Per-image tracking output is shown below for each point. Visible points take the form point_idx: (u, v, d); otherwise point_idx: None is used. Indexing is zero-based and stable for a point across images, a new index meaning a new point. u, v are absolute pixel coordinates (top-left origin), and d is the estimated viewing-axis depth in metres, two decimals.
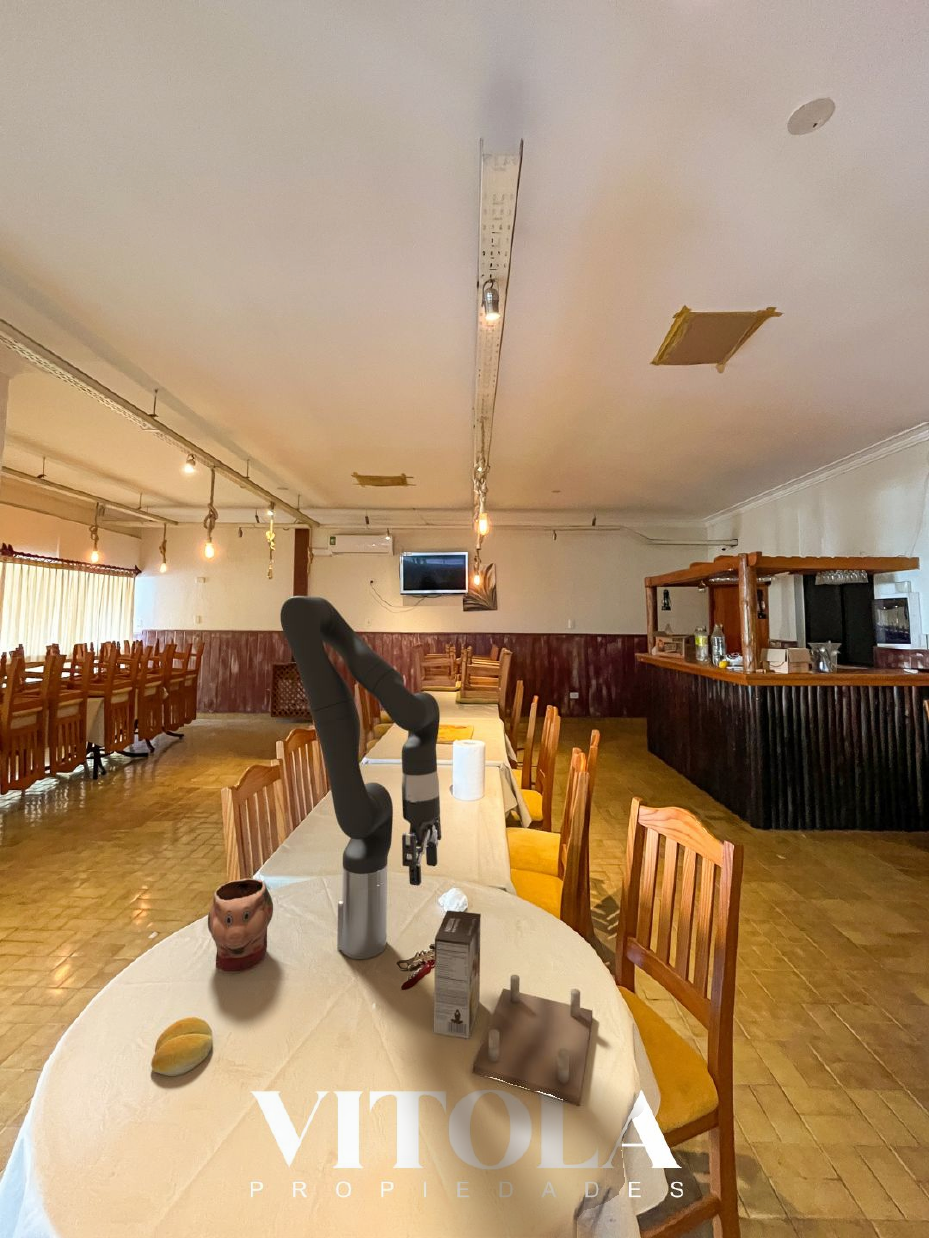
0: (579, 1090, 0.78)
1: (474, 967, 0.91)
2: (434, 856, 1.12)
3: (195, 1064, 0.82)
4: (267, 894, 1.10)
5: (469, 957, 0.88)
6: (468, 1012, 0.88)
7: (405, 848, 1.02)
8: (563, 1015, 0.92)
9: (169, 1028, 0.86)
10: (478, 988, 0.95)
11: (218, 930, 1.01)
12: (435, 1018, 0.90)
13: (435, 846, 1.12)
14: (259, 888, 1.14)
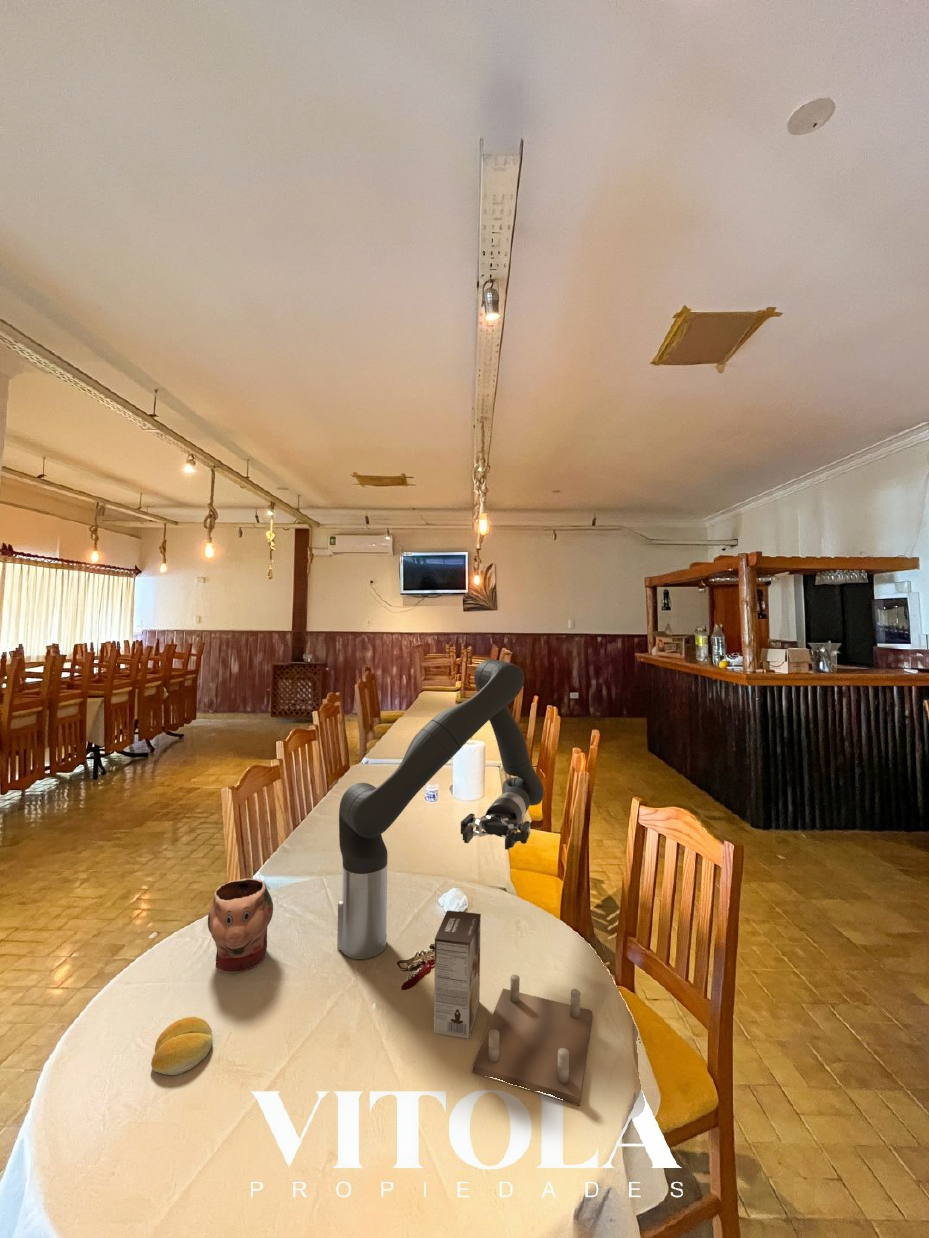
0: (579, 1090, 0.78)
1: (474, 967, 0.91)
2: (470, 838, 1.11)
3: (195, 1063, 0.82)
4: (267, 894, 1.10)
5: (469, 957, 0.88)
6: (468, 1012, 0.88)
7: (528, 829, 1.13)
8: (563, 1015, 0.92)
9: (169, 1027, 0.86)
10: (478, 988, 0.95)
11: (218, 930, 1.01)
12: (435, 1018, 0.90)
13: None
14: (259, 888, 1.14)
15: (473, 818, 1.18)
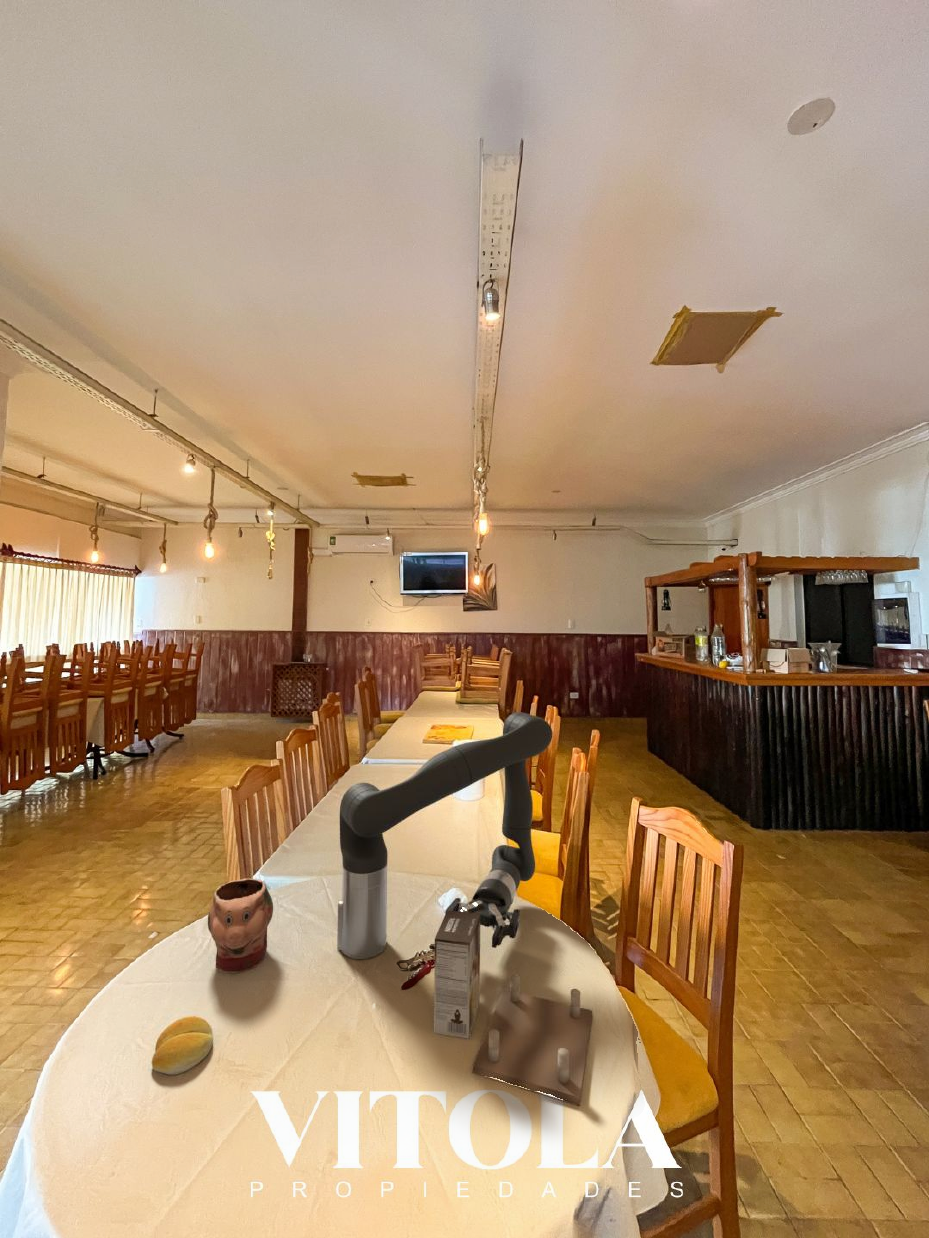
0: (579, 1090, 0.78)
1: (474, 967, 0.91)
2: None
3: (195, 1063, 0.82)
4: (267, 894, 1.10)
5: (469, 957, 0.88)
6: (468, 1012, 0.88)
7: (518, 919, 1.05)
8: (563, 1015, 0.92)
9: (169, 1027, 0.86)
10: (478, 988, 0.95)
11: (218, 930, 1.01)
12: (435, 1018, 0.90)
13: None
14: (259, 888, 1.14)
15: (459, 904, 1.10)
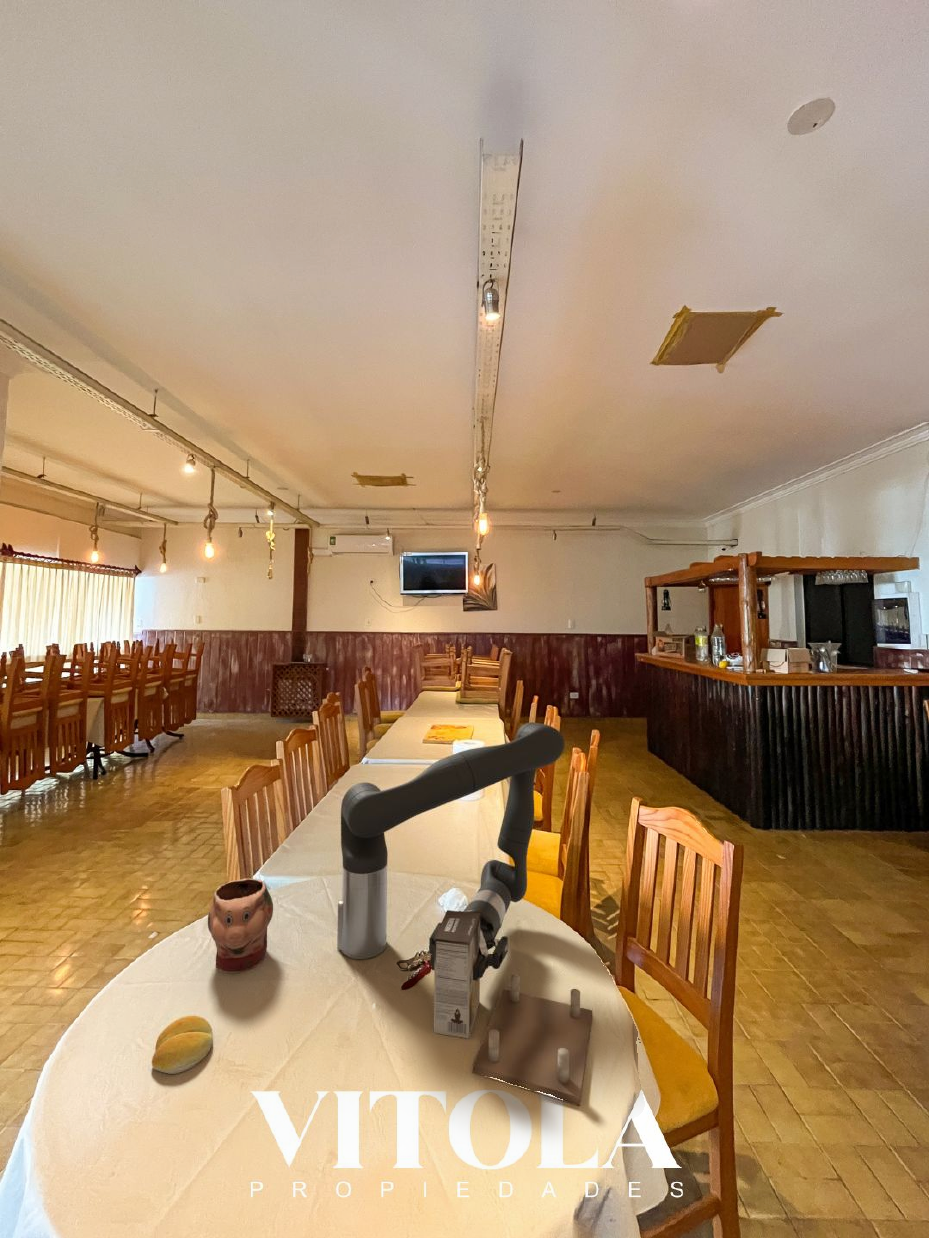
0: (579, 1090, 0.78)
1: None
2: None
3: (195, 1062, 0.82)
4: (267, 894, 1.10)
5: (469, 957, 0.88)
6: (468, 1012, 0.88)
7: (504, 948, 0.96)
8: (563, 1015, 0.92)
9: (169, 1026, 0.86)
10: (478, 988, 0.95)
11: (218, 930, 1.01)
12: (435, 1018, 0.90)
13: None
14: (259, 888, 1.14)
15: None
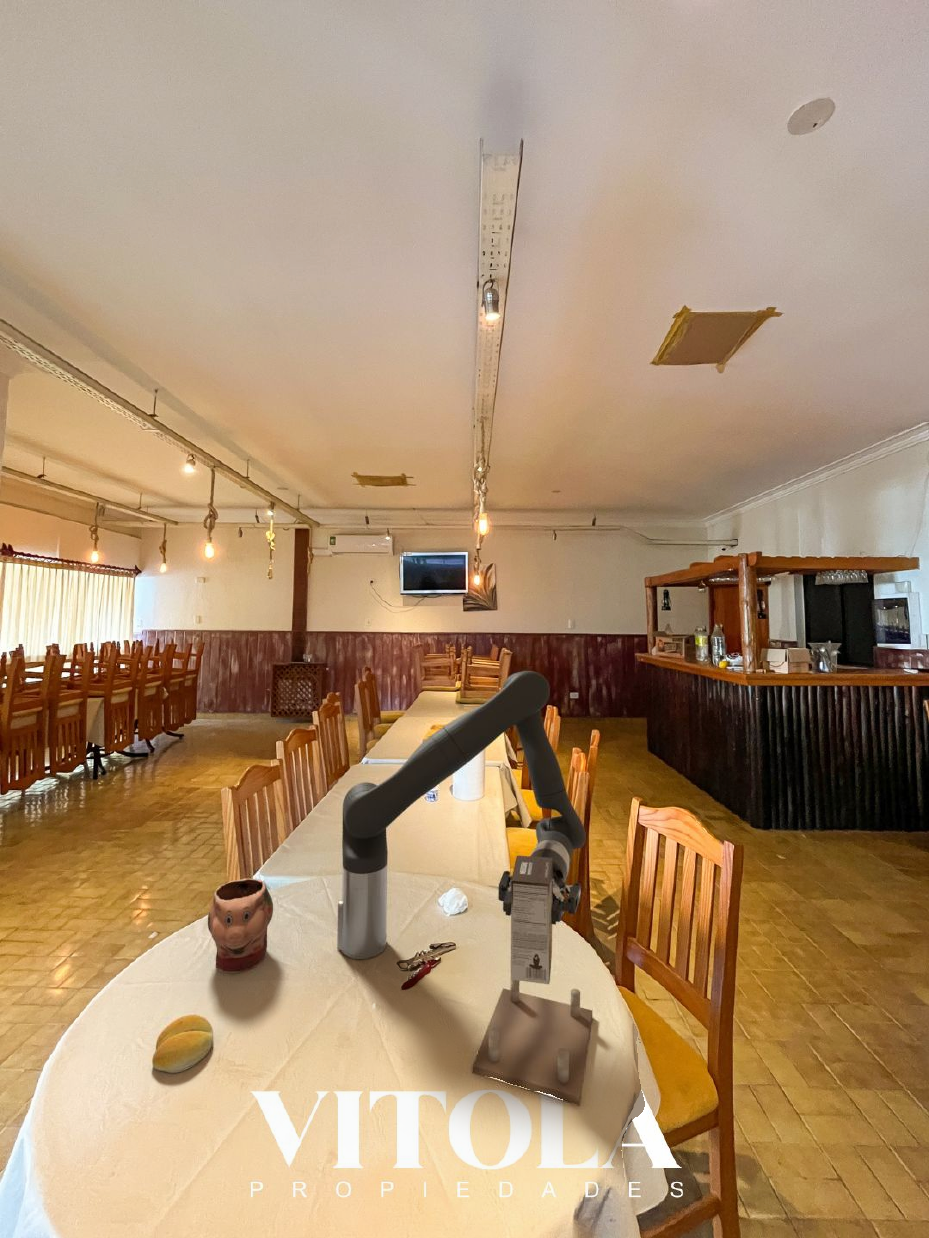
0: (579, 1090, 0.78)
1: None
2: None
3: (196, 1061, 0.83)
4: (267, 894, 1.10)
5: (548, 899, 0.84)
6: (548, 957, 0.84)
7: (578, 893, 0.92)
8: (563, 1015, 0.92)
9: (170, 1025, 0.86)
10: None
11: (218, 930, 1.01)
12: (512, 964, 0.85)
13: None
14: (259, 888, 1.14)
15: (510, 878, 0.96)
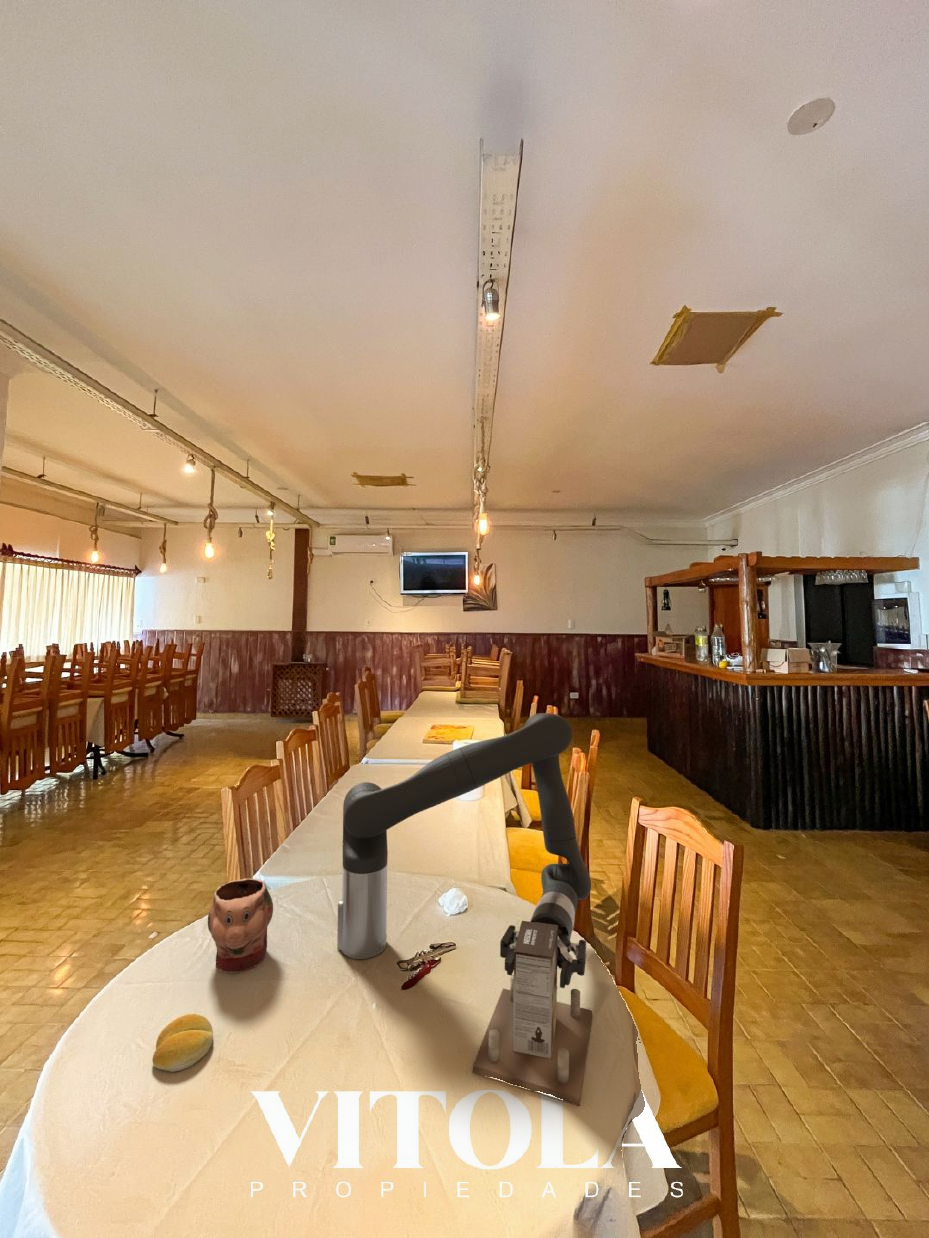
0: (579, 1090, 0.78)
1: (555, 982, 0.86)
2: None
3: (196, 1060, 0.83)
4: (267, 894, 1.10)
5: (551, 972, 0.83)
6: (550, 1030, 0.83)
7: (585, 952, 0.91)
8: (563, 1015, 0.92)
9: (170, 1024, 0.86)
10: (556, 1004, 0.90)
11: (218, 930, 1.01)
12: (514, 1035, 0.84)
13: None
14: (259, 888, 1.14)
15: (514, 933, 0.96)
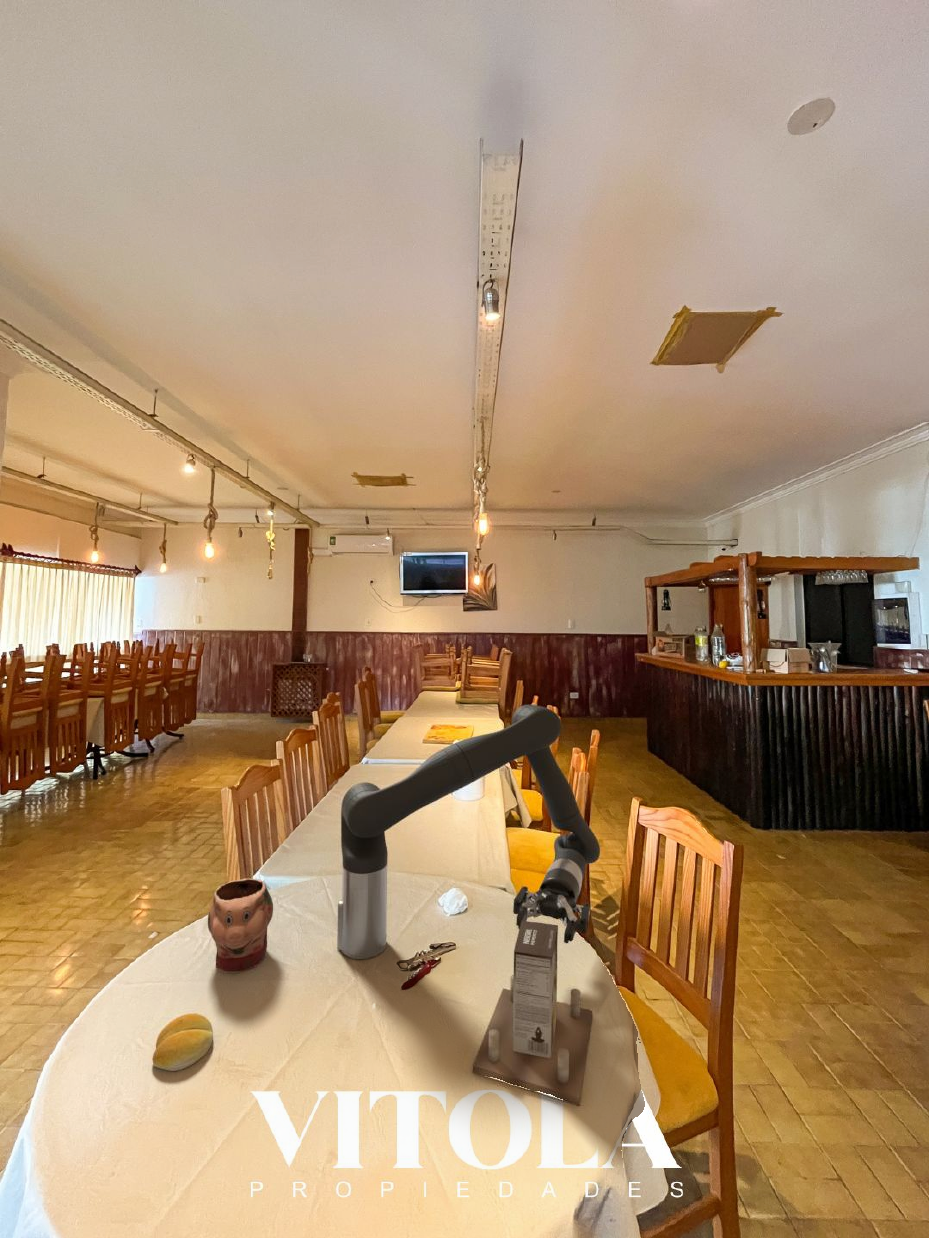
0: (579, 1090, 0.78)
1: (555, 982, 0.86)
2: None
3: (196, 1059, 0.83)
4: (267, 894, 1.10)
5: (551, 972, 0.83)
6: (550, 1030, 0.83)
7: None
8: (563, 1015, 0.92)
9: (170, 1024, 0.86)
10: None
11: (219, 930, 1.01)
12: (514, 1036, 0.84)
13: None
14: (259, 888, 1.14)
15: (527, 893, 1.08)
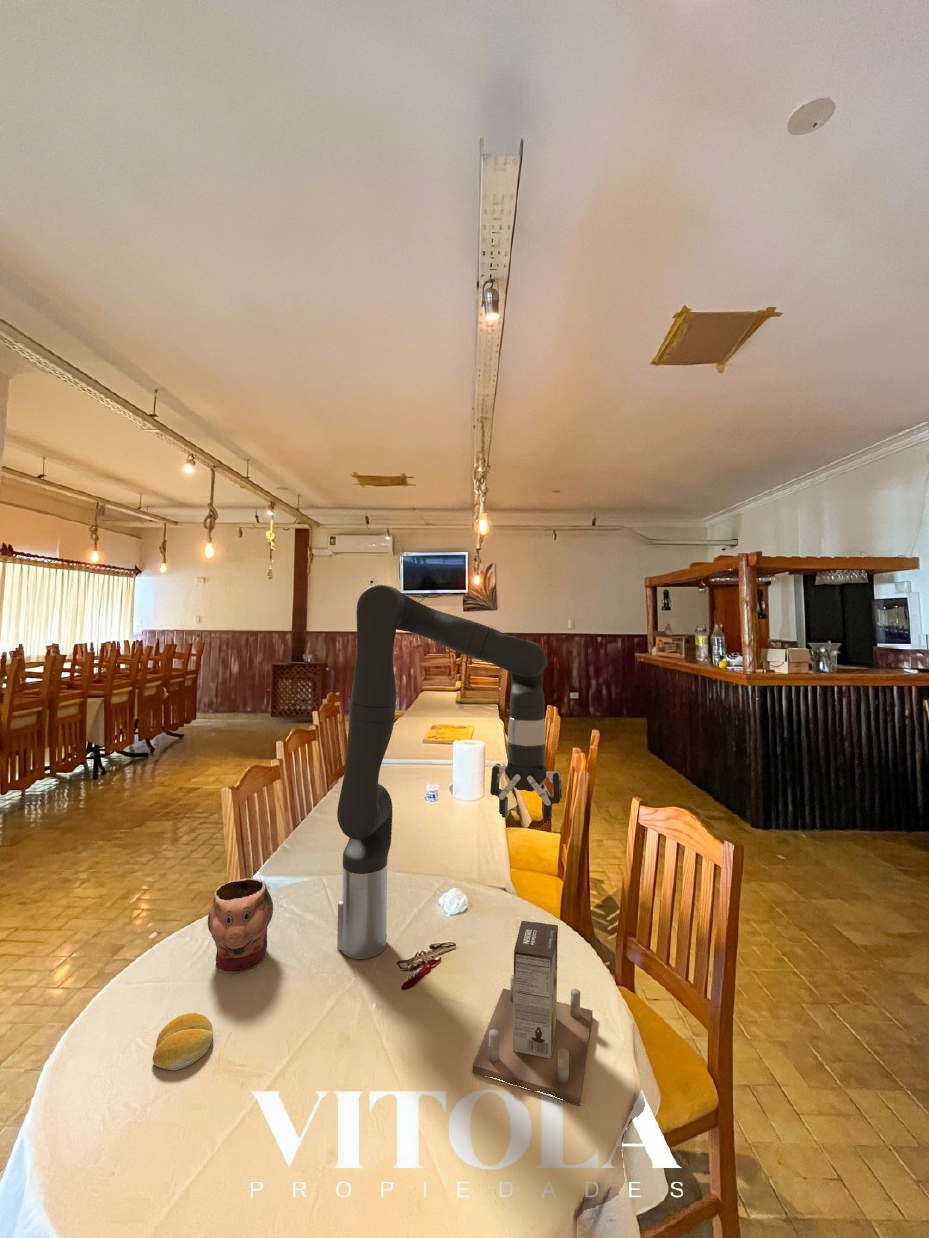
0: (579, 1090, 0.78)
1: None
2: (507, 805, 1.12)
3: (196, 1058, 0.83)
4: (267, 894, 1.10)
5: (551, 972, 0.83)
6: (550, 1030, 0.83)
7: (559, 785, 1.07)
8: (563, 1015, 0.92)
9: (170, 1023, 0.87)
10: None
11: (218, 930, 1.01)
12: (514, 1036, 0.84)
13: (506, 795, 1.12)
14: (259, 888, 1.14)
15: None
